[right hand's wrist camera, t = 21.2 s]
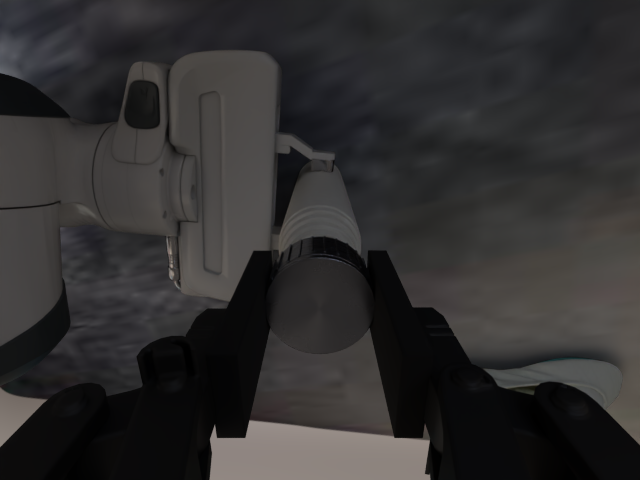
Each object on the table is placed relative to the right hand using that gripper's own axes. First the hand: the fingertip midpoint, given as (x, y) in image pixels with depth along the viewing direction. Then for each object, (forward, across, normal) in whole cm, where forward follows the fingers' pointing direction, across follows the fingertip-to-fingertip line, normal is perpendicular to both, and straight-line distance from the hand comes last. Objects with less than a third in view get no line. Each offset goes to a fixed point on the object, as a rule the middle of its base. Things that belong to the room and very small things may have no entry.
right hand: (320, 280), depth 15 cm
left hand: (+15, -1, 0) cm, 15 cm away
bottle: (+21, 0, 0) cm, 21 cm away
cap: (-2, 0, 0) cm, 2 cm away
